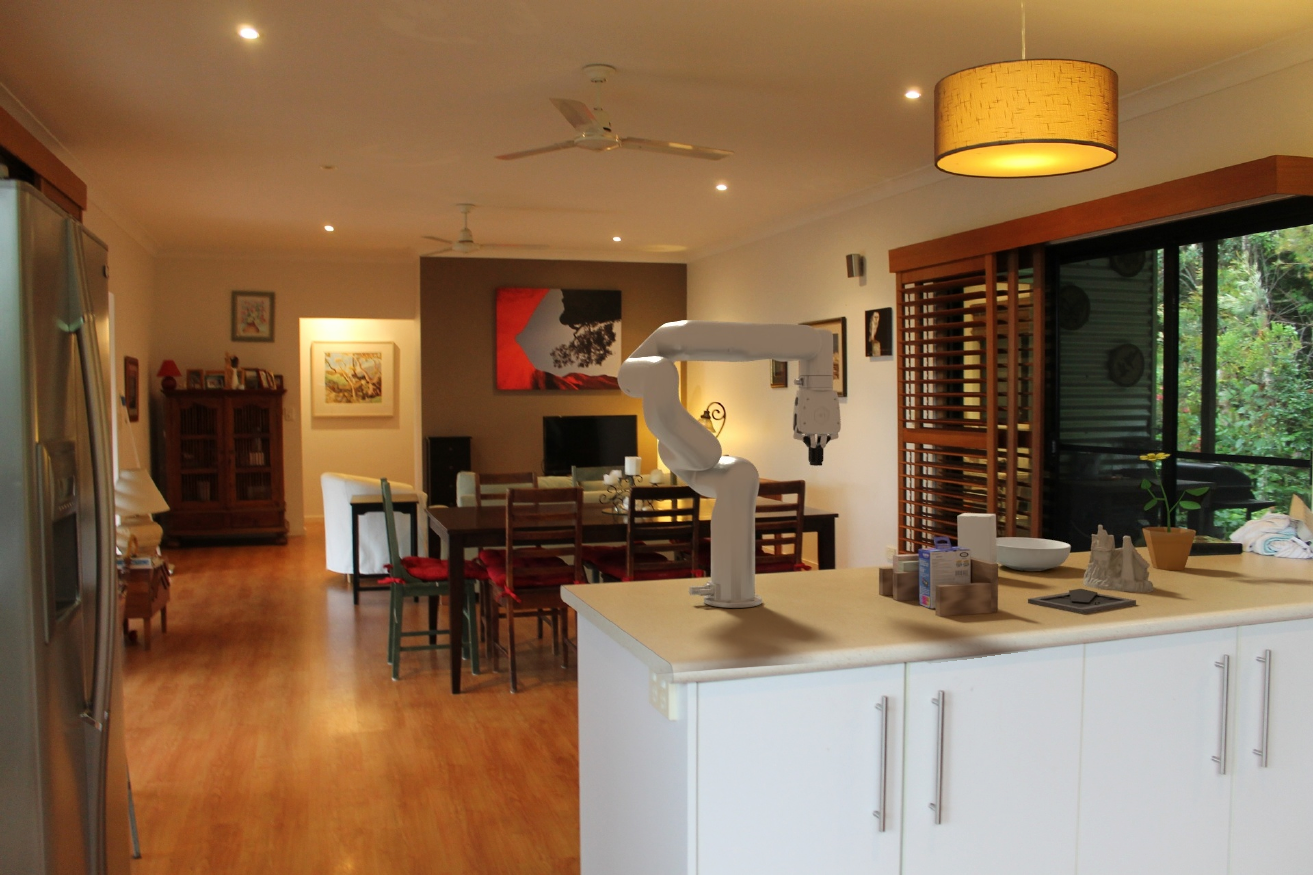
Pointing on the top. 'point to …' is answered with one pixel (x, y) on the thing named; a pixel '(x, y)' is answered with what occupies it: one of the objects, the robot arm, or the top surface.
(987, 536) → the skincare box
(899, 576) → the book rack
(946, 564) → the ink cartridge box
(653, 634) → the top surface
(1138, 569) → the ceramic cottage
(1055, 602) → the picture frame
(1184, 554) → the potted plant
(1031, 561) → the serving bowl
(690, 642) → the top surface
